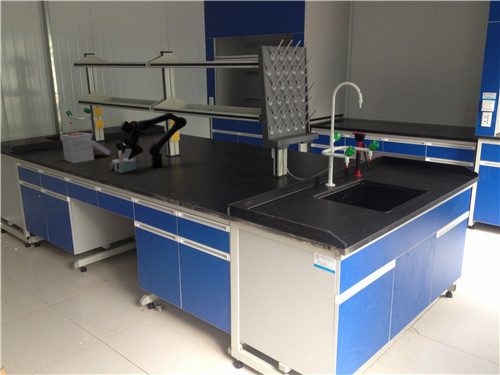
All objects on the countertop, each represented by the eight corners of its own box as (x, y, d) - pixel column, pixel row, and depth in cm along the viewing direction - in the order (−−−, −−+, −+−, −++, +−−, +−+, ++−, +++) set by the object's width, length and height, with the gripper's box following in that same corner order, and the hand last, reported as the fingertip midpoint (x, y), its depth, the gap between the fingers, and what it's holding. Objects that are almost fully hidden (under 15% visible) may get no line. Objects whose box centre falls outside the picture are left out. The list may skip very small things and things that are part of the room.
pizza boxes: (112, 157, 312) (109, 132, 307) (71, 164, 292) (67, 137, 287) (100, 153, 325) (98, 129, 320) (60, 160, 306) (56, 134, 301)
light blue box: (131, 165, 284) (130, 157, 283) (135, 169, 276) (134, 160, 274) (109, 168, 278) (108, 160, 276) (112, 171, 270) (111, 163, 268)
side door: (135, 168, 276) (133, 147, 272) (137, 168, 275) (135, 147, 271) (119, 172, 266) (116, 150, 262) (121, 173, 265) (119, 151, 261)
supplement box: (120, 162, 295) (118, 144, 291) (128, 160, 301) (126, 142, 297) (128, 163, 291) (127, 145, 288) (136, 161, 298) (134, 143, 294)
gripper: (115, 129, 267) (104, 150, 261) (138, 131, 259) (126, 153, 253) (126, 140, 276) (115, 160, 270) (148, 142, 267) (137, 163, 261)
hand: (123, 159), depth 263 cm, fingers open, 9 cm apart
